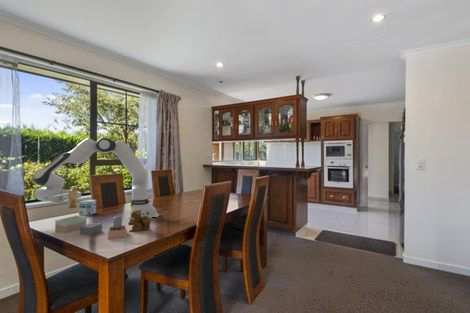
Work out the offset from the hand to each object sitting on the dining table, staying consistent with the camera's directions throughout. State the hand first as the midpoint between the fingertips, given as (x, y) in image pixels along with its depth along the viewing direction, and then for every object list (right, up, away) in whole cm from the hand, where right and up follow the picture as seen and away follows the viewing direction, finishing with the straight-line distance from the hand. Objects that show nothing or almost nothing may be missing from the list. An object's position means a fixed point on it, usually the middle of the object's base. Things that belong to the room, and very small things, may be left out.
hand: (74, 197), depth 155 cm
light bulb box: (-16, -20, +40) cm, 47 cm away
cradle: (+15, -21, -7) cm, 27 cm away
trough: (-2, -20, +1) cm, 20 cm away
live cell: (-1, -6, 0) cm, 7 cm away
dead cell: (+33, -21, -11) cm, 41 cm away
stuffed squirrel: (+42, -22, +1) cm, 47 cm away
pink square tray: (+33, -21, -11) cm, 41 cm away
